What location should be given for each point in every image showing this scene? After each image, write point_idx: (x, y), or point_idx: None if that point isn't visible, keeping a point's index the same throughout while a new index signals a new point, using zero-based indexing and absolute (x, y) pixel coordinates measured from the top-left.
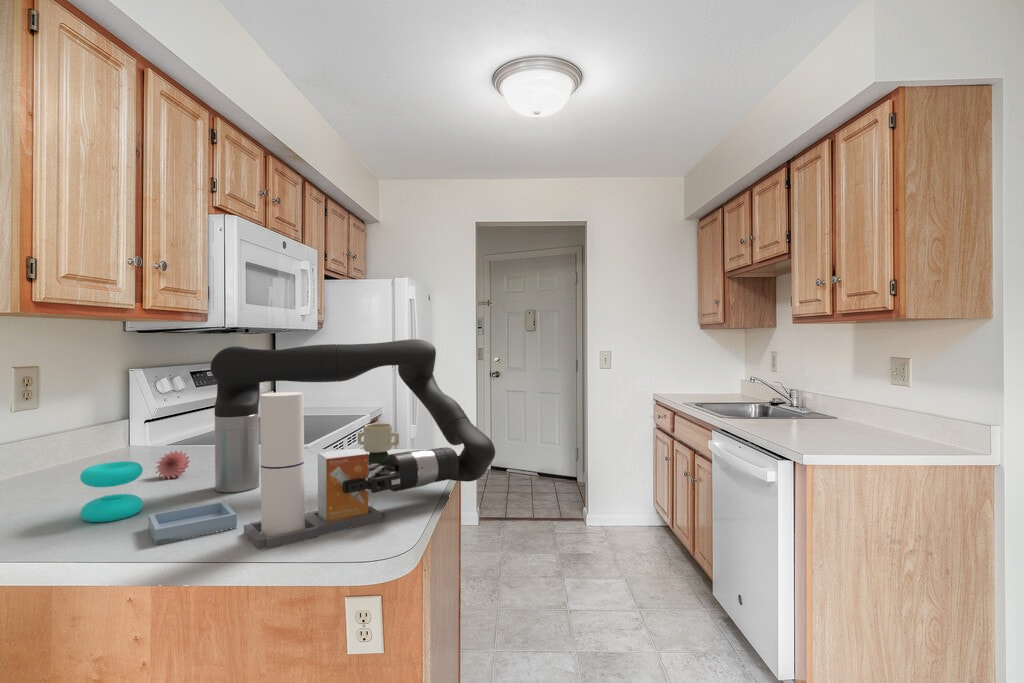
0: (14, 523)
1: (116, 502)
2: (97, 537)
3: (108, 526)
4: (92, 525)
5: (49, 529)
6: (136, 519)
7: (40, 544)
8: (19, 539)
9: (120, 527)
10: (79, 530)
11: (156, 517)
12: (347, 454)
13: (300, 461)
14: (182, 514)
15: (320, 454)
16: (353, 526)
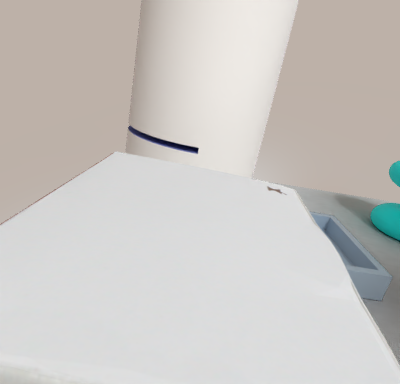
0: (389, 202)
1: (393, 210)
2: (311, 210)
3: (353, 222)
4: (363, 218)
5: (359, 205)
6: (379, 239)
7: (308, 194)
8: (332, 194)
9: (344, 225)
10: (346, 211)
11: (330, 223)
12: (101, 204)
13: (137, 122)
14: (343, 242)
15: (244, 177)
16: None
